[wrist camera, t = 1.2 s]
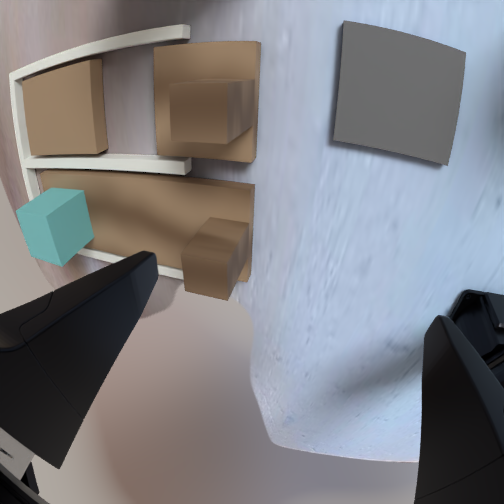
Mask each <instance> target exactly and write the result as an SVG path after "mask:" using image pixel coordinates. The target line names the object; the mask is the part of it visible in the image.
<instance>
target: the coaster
mask: <svg viewBox="0 0 504 504" xmlns="http://www.w3.org/2000/svg"><path fill="white" fill-rule="evenodd" d="M465 58H466V52H463V51H460V50H458V49H455V48H452V47H449V46H447V45H444V44H441V43H438V42H435V41H431V40H428V39H425V38H422V37H418V36H415V35H411V34H407V33H403V32H400V31H395V30H391V29H387V28H382V27H378V26H373V25H368V24H362V23H356V22H350V21H344V22H343V39H342V54H341V67H340V79H339V90H338V100H337V110H336V119H335V127H334V136H333V140H335V141H341V142H346V143H352V144H357V145H363V146H368V147H373V148H378V149H382V150H387V151H392V152H396V153H400V154H405V155H409V156H413V157H417V158H421V159H425V160H428V161H432V162H436V163H440V164H443V165H447V166H448V162H449V158H450V154H451V149H452V145H453V140H454V135H455V130H456V125H457V119H458V114H459V108H460V101H461V94H462V87H463V79H464V69H465Z"/></svg>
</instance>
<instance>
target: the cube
mask: <svg viewBox="0 0 504 504" xmlns="http://www.w3.org/2000/svg"><path fill="white" fill-rule="evenodd" d="M16 213H17V216H18V219H19V223H20V226H21V229H22V232H23V235H24V238H25V240H26V243H27V246H28V249H29V251H30V254H31V256H32V257H35V258H38V259H41V260H44V261H47V262H50V263H53V264H56V265H59V266H63V265H65V264H66V263H67V262H68V261H69V260H70V259H71V258H72V257H73V256H74V255H75V254H76V253H77V252H78V251H80V250H81V249H82V248H83V247H84V246H85V245H86V244H87V243H88V242H90V241H91V240H92V239H93V238H94V234H93V230H92V226H91V221H90V217H89V213H88V208H87V204H86V199H85V194H84V190H74V189H62V188H50V189H48V190H47V191H45V192H43V193H42V194H40V195H39V196H37V197H36V198H34V199H33V200H31V201H30V202H28V203H27V204H25V205H24V206H22V207H21V208H19V209H18V210H17V211H16Z"/></svg>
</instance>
